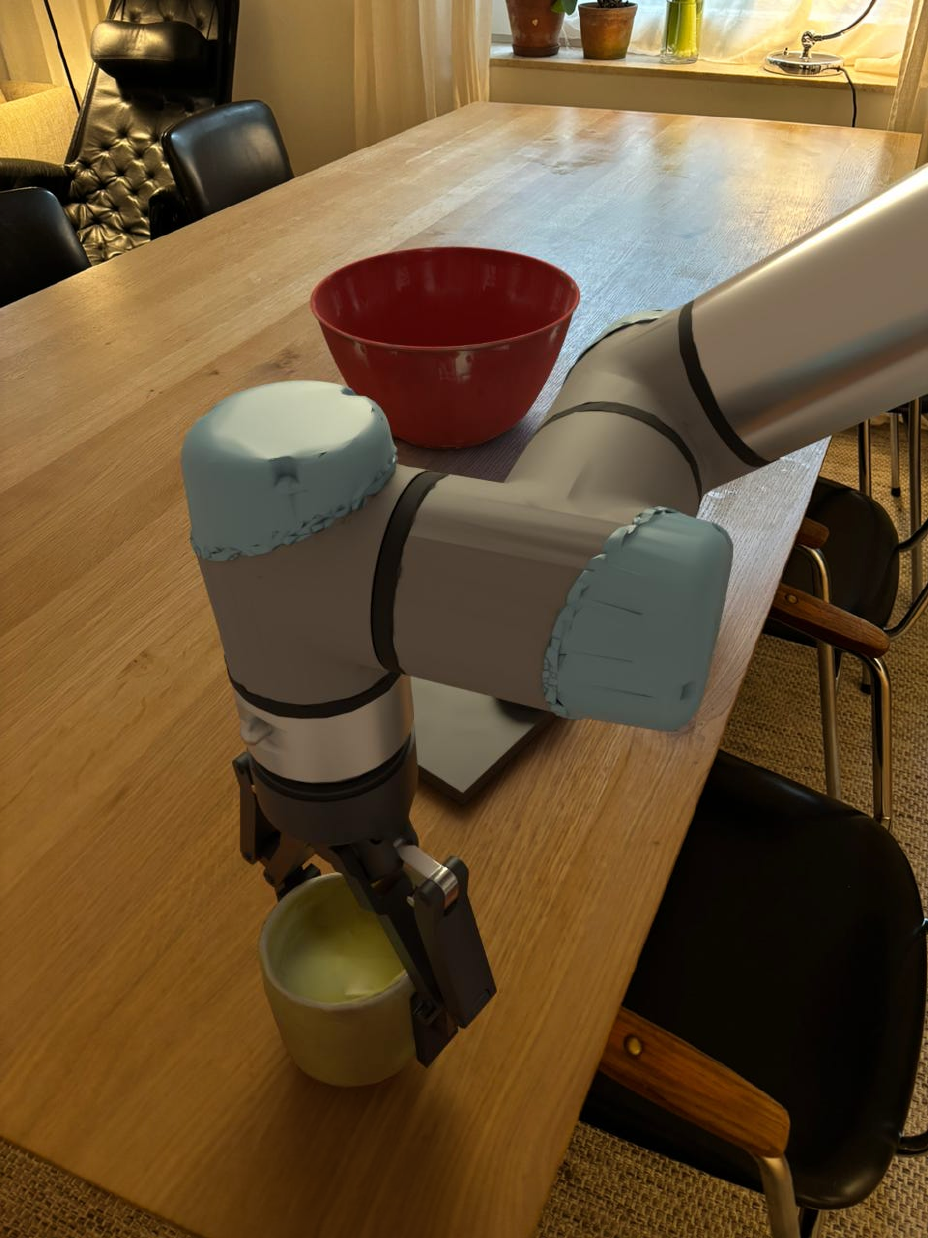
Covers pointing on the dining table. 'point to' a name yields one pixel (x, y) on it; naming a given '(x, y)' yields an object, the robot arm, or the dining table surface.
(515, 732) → the scale
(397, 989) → the mug
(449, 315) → the mixing bowl
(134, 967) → the dining table surface
